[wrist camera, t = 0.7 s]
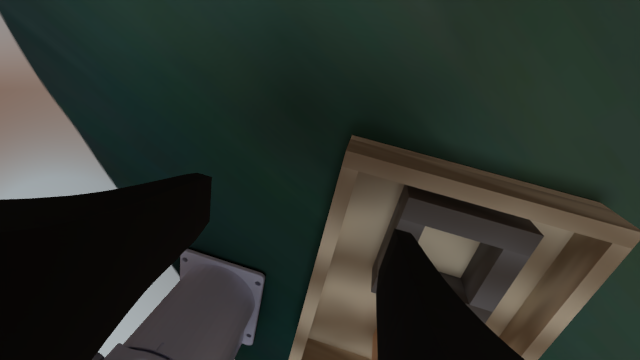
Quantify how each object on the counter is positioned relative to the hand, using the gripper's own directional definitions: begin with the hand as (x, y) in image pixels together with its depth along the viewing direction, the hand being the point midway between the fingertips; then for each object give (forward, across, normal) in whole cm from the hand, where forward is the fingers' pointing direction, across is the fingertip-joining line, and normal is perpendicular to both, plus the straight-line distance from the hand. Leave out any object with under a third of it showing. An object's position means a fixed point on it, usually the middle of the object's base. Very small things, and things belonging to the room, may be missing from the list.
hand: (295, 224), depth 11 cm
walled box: (+10, -9, +9) cm, 16 cm away
